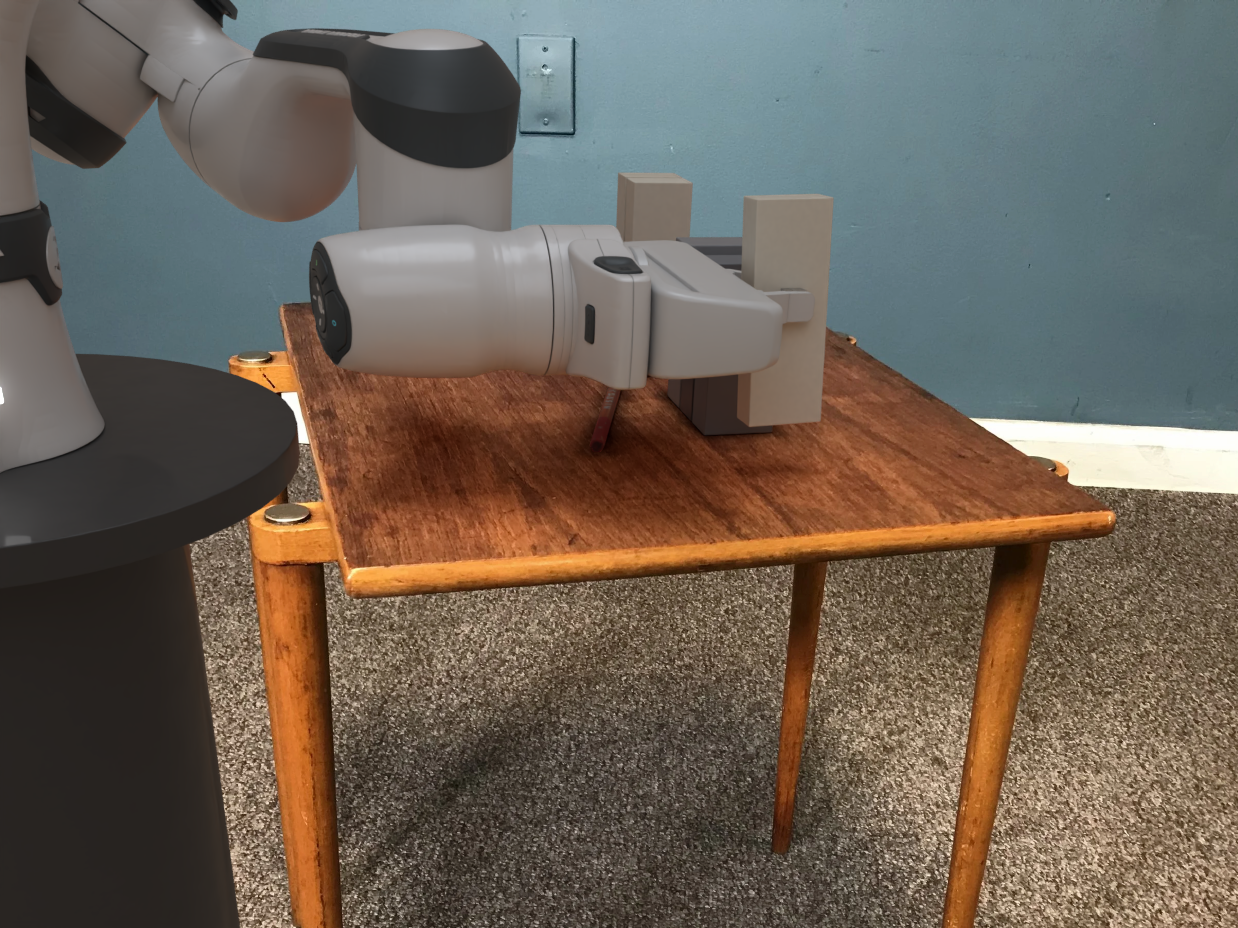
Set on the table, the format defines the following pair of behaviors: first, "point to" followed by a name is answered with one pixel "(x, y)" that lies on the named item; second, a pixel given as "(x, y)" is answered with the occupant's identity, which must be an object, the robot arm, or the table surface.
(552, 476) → the table surface
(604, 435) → the pencil
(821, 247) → the white book
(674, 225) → the white books
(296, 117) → the robot arm
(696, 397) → the grey books
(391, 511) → the table surface
